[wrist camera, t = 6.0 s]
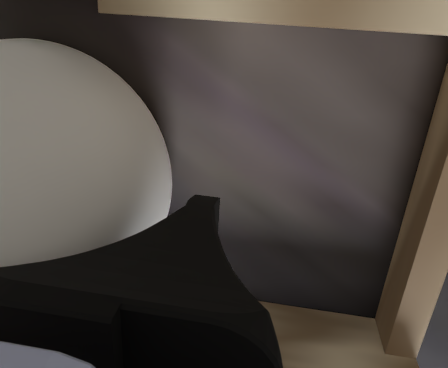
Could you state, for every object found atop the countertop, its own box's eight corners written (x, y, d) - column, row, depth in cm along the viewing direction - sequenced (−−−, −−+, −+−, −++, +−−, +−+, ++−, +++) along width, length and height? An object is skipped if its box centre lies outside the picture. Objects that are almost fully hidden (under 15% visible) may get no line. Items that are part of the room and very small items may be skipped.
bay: (512, -17, 12) (614, -32, 8) (394, 347, 18) (421, 432, 14) (148, -35, 13) (93, -55, 9) (155, 309, 19) (123, 377, 15)
